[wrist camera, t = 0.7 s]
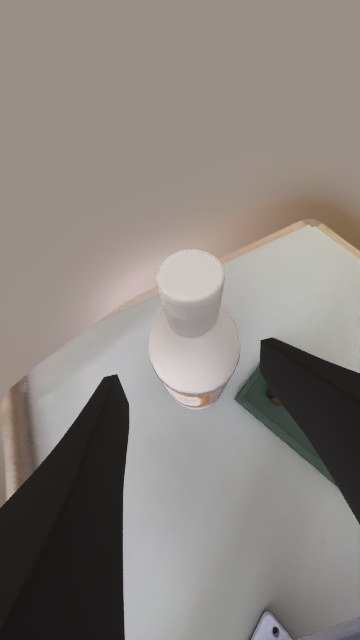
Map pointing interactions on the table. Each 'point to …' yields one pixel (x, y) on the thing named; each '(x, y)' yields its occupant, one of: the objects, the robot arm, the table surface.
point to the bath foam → (193, 330)
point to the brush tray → (278, 420)
